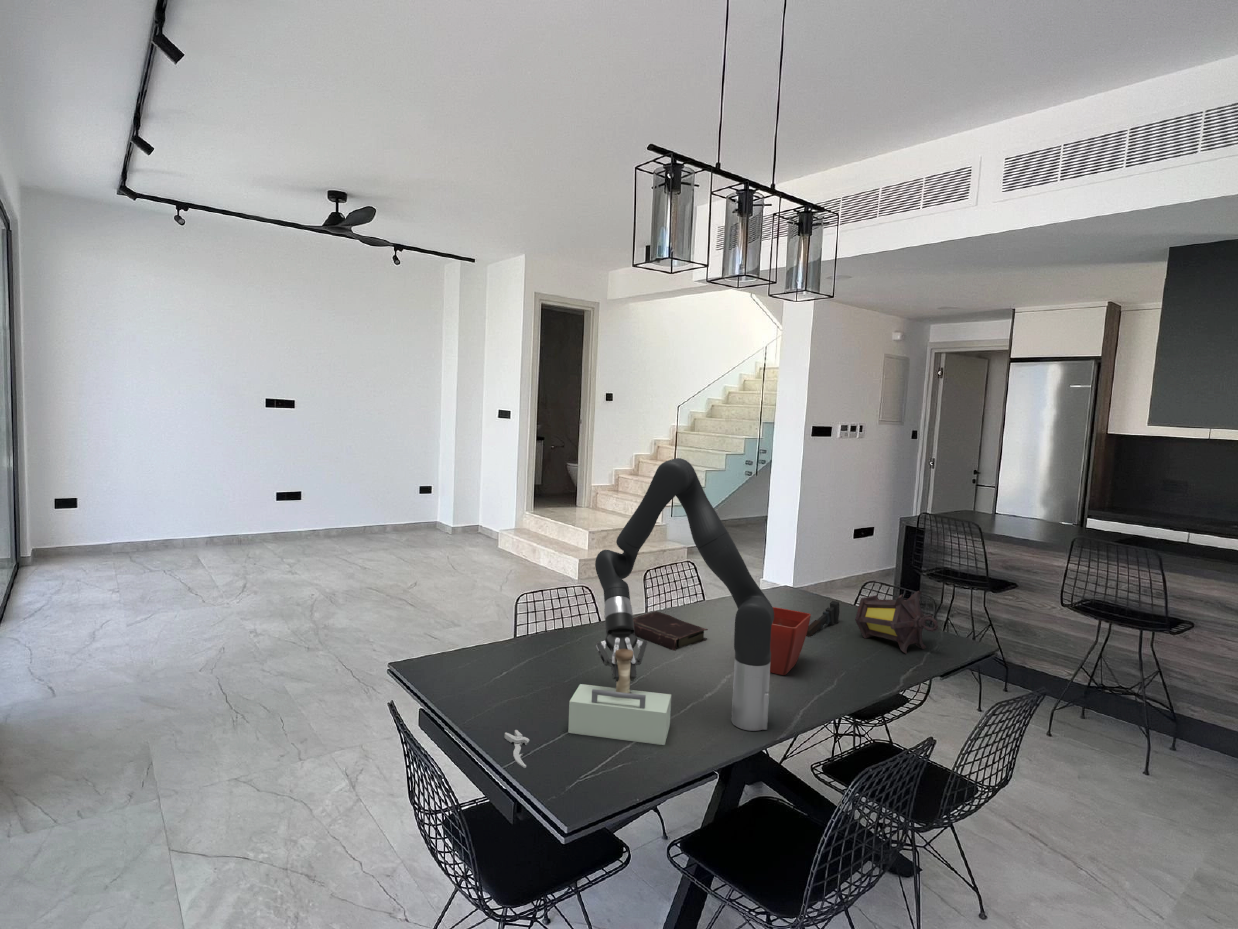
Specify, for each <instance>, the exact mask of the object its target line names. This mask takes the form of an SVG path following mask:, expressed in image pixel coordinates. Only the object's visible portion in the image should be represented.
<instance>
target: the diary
mask: <svg viewBox="0 0 1238 929" xmlns="http://www.w3.org/2000/svg"><path fill="white" fill-rule="evenodd" d="M633 622H634V631H635V636H636V637H638V638H639V639H640V638H641V639H643V640H646V641H648V642H650V643H653V644H655V645H660V646H661V647H664V648H666V649H669V650H672V651H677V650H676V649H680V648H683V647H686V646H689V645H691V646H694V645H698V644H700V643H702V642H706V640H708V638H705V637H704V636H705V631H708V628H705V627H702V626H698V625H696V624H692V623H689V622H687V621H683V620H682V619H679V618H677V617H675V616H672V615H669V614H666V613H663V612H660V611H657V610H656V611H653V612H652V611H651V612H647V613H645V614H641V615H638V616H635V617H633Z"/></svg>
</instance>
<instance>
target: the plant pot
mask: <svg viewBox="0 0 1238 929" xmlns="http://www.w3.org/2000/svg"><path fill="white" fill-rule="evenodd" d="M772 607H773V610H774V620H773V623H772V625H771V641H770V651H771V662H770V674H771V673H773V674H775V675H780V676H785V675H788V673H789V672H790V671H791V670H792V669H793V668H794V667H795V666H796V664H797V662H798V660H799V657H800V655H801V652H802V649H803V647H804V644H805V641H806V637H807V636H806V634H807V630H808V626H809V625H810V621H811V616H812V614H811V613H808V612H805V611H804V612H803V611H797V610H792V609H787V608H782V607H781V608H780V607H776V606H775V607H774V606H772Z"/></svg>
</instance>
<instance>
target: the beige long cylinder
mask: <svg viewBox="0 0 1238 929" xmlns="http://www.w3.org/2000/svg"><path fill="white" fill-rule="evenodd" d="M633 652H634V650H633V651H632V650H629V649H618V650H616V657H615V658H616V659H617V665H618V674H619V680H618V682H615V684H616V685H615V688H616V692H622V693H630V690H631V689H630V688H631V681H630V667H631V660H632V659H633ZM618 698H620V697H618ZM626 699H629V698H626Z"/></svg>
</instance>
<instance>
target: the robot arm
mask: <svg viewBox="0 0 1238 929" xmlns="http://www.w3.org/2000/svg"><path fill="white" fill-rule="evenodd" d="M675 497H676V498H677V500H678V502H679V504H680V505H681V506H682V508H683V510H684V511H685V515H686V518H687V521H688V526H689V529H690V534H691V537H692V540H693V542H694V544H695V548H696V549H697V550H698V553H699V554H700V556H701V557H702V560H704V563H705V564H706V565H707V567H708V568H709V569H710V570H711V571H712V572H713V574H714V575H715V576H716V577H717V578H718V579H719V580H720V581H721V582H722V583H723V584H724V586H725V587H726V588H727V589H728V591H729V594H730V595H731V598H732V599H733V602H734V604H735V605H736V607H737V611H736V613H735V616H734V617H735V619H734V635H733V649H734V668H733V684H732V687H733V688H732V702H731V703H732V704H731V720H730V721H731V723H732V724H733V726H734V727H737V728H738V729H741V730H745V731H753V732H756V731H761V730H762V731H763V730H765V731H767V730H768V721H769V719H768V718H769V701H770V677H771V672H770V662H771V651H770V641H771V625H772V623H773V620H774V610H773V607H774V606H773V605H772V604H771V602H770V600H769V599H768V598H767V596H766V595H765V594H764V592H763V591H762V590H761V588H760V587H759V585H758V584H757V583H756V581H755V579H754V578H753V576H752V575H751V572H750V571H749V569H748V567H747V565H746V563H745V561H744V558H743V557H742V555H741V553H740V551H739V549H738V548H737V546H736V544H735V542H734V540H733V538H732V536H731V535H730V534H729V532H728V529H727V528H726V526H725V525H724V524H723V521H722V520H721V518H720V517H719V515H718V513H717V511H716V510H715V508H714V507H713V505H712V503H711V502H710V501H709V498H708V496H707V495H706V492H705V490H704V488H703V486H702V484H701V482H700V480H699V476H698V475H697V473H696V470H695V468H694V466H693V465H692V464H691V463H690V462H689V461H688V460H687V459H684V458H680V457H678V458H677V457H676V458H672V459H668V460H666V461H664V462H662V463H661V464H660V465H659V466H657V469H656V471H655V473H654V474H653V477H652V479H651V481H650V484H649V486H648V488H647V491H646V492H645V494H644V496H643V497H642V500H641V501H640V503H639V505H638V507H637V508H636V509H635V511H634V512H633V514H632V515H631V517H630V518H629V520H628V521H627V522H626V524H625V526H624V527H623V529H621V531H620V533H619V534H618V536H617V538H616V541H615V543H616V545H617V547H618V548H619V549H620V550H621V551H622V553H620V552H616V551H613V550H610V549H602V550H601V551H600V552H598V554H597V555H596V558H595V562H594V564H595V572H596V575H597V578H598V580H599V583H600V586H601V587H602V591H603V599H604V600H603V601H604V610H603V612H604V615H603V616H604V625H605V639H604V640H603V641H600V640H598V641H597V642H596V645H595V650H596V651H597V653H598V655H599V657H600V660H601V662H602V664H603V665H604V666H605V667H607V666H609V667H610V668H611V678H612V680H614V682H615V683H617V682H618V680H619V674H618V665H617V659H616V658H615V657H616V650H618V649H629V650H632V651H633V659H632V660H631V667H630V682H634V680H635V679H636V678H637V675H638V674H637V666H640V665H641V664H642V661H643V659H644V655H645V651H646V648H647V645H648V642H647V641H648V640H645V639H643V640H639V639H638V638H637V636H635V631H634V622H633V618H634V615H633V614H634V613H633V607H632V604H631V603H632V602H631V595H630V586H629V584H628V582H627V581H625V580H624V579H626V578H628V576H630V575H631V573H632V572H633V569H634V566H635V563H636V559H637V558H638V557H637V556H638V554H639V552H640V550H641V548H642V547H643V545H644V544H645V543H646V541H647V540H648V538H649V537H650V535H651V533H652V532H653V530H654V528H655V526H656V523H657V521H658V519H659V517H660V515H661V514H662V512H663V511H664V509H665V508H666V506H667V505H668V504H669V503H670V502H671V501H672V500H673V499H674V498H675ZM636 646H637V650H639V651H638V656H637V657H635V654H634V653H635V652H634V648H635V647H636ZM606 647H607V649H609V650H610V651H611V658H610V657H609V655H608V653H607V651H606Z"/></svg>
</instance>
